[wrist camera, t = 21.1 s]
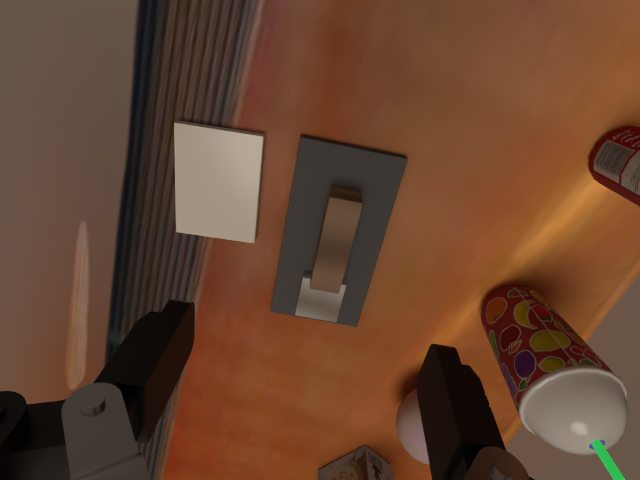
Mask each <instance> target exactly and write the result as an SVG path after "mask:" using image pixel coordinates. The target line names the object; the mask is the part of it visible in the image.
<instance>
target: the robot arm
mask: <svg viewBox="0 0 640 480" xmlns="http://www.w3.org/2000/svg"><path fill="white" fill-rule="evenodd" d="M194 322H195V305H194V303H193V302H189V301H183V300H177V299H170V300H169V301H168V303H167V304H166V306H165V307H164V309H163V310H162V312H161V313H158V312H153V311H151V312H149V313H148V314H146V315H145V316H143V317H142V318H140V319H139V320H137V322H136V323H135V325H134V326H133V328H132V329H131V330H130V332H129V335H127V336H126V337H125V339H124V340H123V342H122V345H120V346H119V347H118V349H117V350H116V352H115V353H114V354H113V356H112V357H111V359H110V360H109V362H108V363H107V364H106V366H105V367H104V369H103V370H102V372H101V373H100V375H99V376H98V377H97V379H96V380H95V381H94V382H93V384H89V385H86V386H83V387H81V388H79V389H78V390H76V391H74V392H73V393H72V394H71V395H70V396H69V397H68V398H67V399H65V400H61V401H55V402H45V403H38V404H37V403H36V404H26V401H25V398H24V397H23V396H22V395H20V394H19V393H16V392H12V391H1V392H0V480H150V479H149V475H148V472H147V469H146V465H145V462H144V459H143V456H142V454H141V453H139V452H138V449H137V445H136V442H141V443H147V444H148V442H149V440H150V438H151V436H152V434H153V432H154V430H155V428H156V425H157V423H158V421H159V419H160V417H161V415H162V413H163V411H164V409H165V406H166V404H167V402H168V400H169V398H170V396H171V394H172V392H173V390H174V388H175V385H176V383H177V381H178V379H179V377H180V375H181V373H182V371H183V369H184V366H185V364H186V362H187V360H188V358H189V356H190V353H191V350H192V347H193V342H194ZM416 389H417V398H418V404H419V409H420V415H421V420H422V426H423V431H424V437H425V442H426V447H427V453H428V458H429V464H430V469H431V475H432V480H534V479H532V478H531V477H529V475H528V473H527V471H526V469H525V468H524V466H523V465H522V464H521V462H520V461H519V460H518V459H517V458H516V457H515V456H513V455H512V454H511V453H509V452H507V451H506V448H505V446H504V443H503V440H502V438H501V435H500V432H499V429H498V427H497V424H496V421H495V419H494V416H493V413H492V410H491V408H490V407H489V402H488V399H487V397H486V396H485V391H484V389H483V386H482V383H481V380H480V378H479V377H478V376H477V375H476V373H475V372H474V371H473V370H472V368H471V367H470V366H468V365H462V364H461V361H460V358H459V355H458V352H457V350H456V348H454V347H449V346H443V345H438V344H431V346H430V347H429V350H428V352H427V355H426V357H425V360H424V362H423V365H422V367H421V370H420V373H419V375H418V379H417V388H416Z"/></svg>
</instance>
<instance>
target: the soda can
mask: <svg viewBox="0 0 640 480" xmlns="http://www.w3.org/2000/svg"><path fill="white" fill-rule="evenodd" d="M590 172H591V174H592V176H593V178H594V179H595V180H596V181H597V182H599V183H600V184H602V185H604V186H605V187H607V188H609V189H610V190H612V191H614V192H616V193H617V194H619V195H621V196H623V197H624V198H626V199H628V200H630V201H631V202H633V203H635V204H636V205H638V206H640V127H635V126H627V127H622V128H619V129H617V130H615V131H613V132H611V133H609V134H608V135H606V136H605V137H604V138H603V139H602V140H601V141H600V142H599V143H598V144H597V146H596V148H595V150H594V152H593V153H592V155H591V157H590Z"/></svg>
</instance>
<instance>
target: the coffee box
mask: <svg viewBox="0 0 640 480" xmlns="http://www.w3.org/2000/svg"><path fill="white" fill-rule="evenodd" d="M318 480H393V475H392V468H391V465H390V464H388V463H387V462H386V461H385V460H383V459H382V458H381V457H380V456H378V455H377V454H376V453H375V452H373V451H372V450H371V449H369V448H368V447H367V446H365V445H364V446H362V447H360V448H358V449H357V450H355V451H353V452H351V453H349V454H347V455H345V456H343V457H342V458H340V459H338V460H336V461H334V462H332V463H330V464H328V465H327V466H325V467H323V468H321V469H319V470H318Z"/></svg>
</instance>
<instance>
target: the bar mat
mask: <svg viewBox="0 0 640 480" xmlns="http://www.w3.org/2000/svg"><path fill="white" fill-rule="evenodd" d="M406 162H407V158H406V157H405V156H400V155H395V154H390V153H385V152H380V151H375V150H371V149H366V148H361V147H356V146H351V145H346V144H341V143H336V142H331V141H327V140H322V139H317V138H312V137H307V136H302V135H301V137H300V143H299V149H298V154H297V160H296V166H295V172H294V177H293V183H292V189H291V195H290V201H289V206H288V212H287V218H286V224H285V229H284V235H283V241H282V247H281V252H280V258H279V264H278V270H277V276H276V281H275V287H274V293H273V299H272V304H271V310H270V312H275V313H281V314H287V315H292V316H297V315H295V312H296V306H297V301H298V296H299V292H300V287H301V282H302V277H303V272H310V273H311V271H312V266H313V262H314V257H315V253H316V248H317V244H318V239H319V234H320V230H321V225H322V221H323V216H324V212H325V207H326V203H327V198H328V194H329V189H330V186H335V187H340V188H345V189H350V190H355V191H360V192H361V195H362V201H363V205H362V209H361V212H360V216H359V220H358V224H357V227H356V231H355V235H354V239H353V243H352V246H351V250H350V254H349V258H348V261H347V265H346V269H345V273H344V277H343V279H346V288H345V292H344V295H343V299H342V303H341V306H340V310H339V314H338V317H337V321H336V322H332V323H338V324H343V325H349V326H355V327H357V324H358V321H359V317H360V314H361V311H362V307H363V304H364V301H365V297H366V294H367V291H368V288H369V284H370V281H371V278H372V274H373V271H374V268H375V264H376V261H377V258H378V255H379V251H380V248H381V245H382V241H383V238H384V235H385V231H386V228H387V225H388V222H389V218H390V215H391V212H392V208H393V205H394V202H395V198H396V195H397V192H398V189H399V185H400V182H401V179H402V175H403V172H404V169H405V165H406ZM298 317H302V316H298ZM304 318H308V317H304ZM309 319H314V318H309ZM315 320H319V319H315ZM321 321H325V320H321ZM326 322H331V321H326Z"/></svg>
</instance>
